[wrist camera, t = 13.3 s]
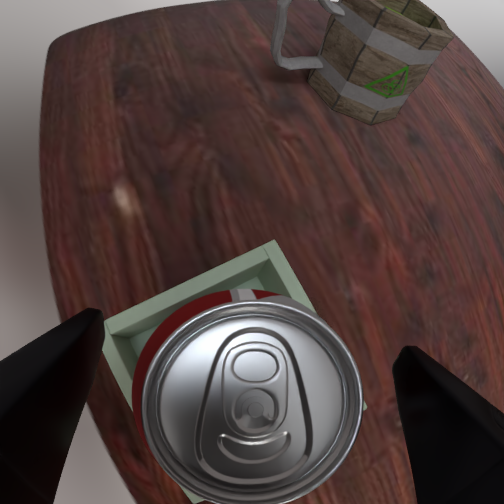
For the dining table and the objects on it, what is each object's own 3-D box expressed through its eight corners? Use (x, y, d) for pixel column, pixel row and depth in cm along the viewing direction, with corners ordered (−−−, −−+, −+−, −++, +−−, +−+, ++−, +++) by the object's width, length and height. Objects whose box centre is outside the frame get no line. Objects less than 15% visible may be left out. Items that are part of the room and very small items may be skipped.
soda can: (169, 426, 16) (124, 520, 5) (170, 318, 18) (121, 265, 7) (279, 426, 17) (375, 505, 6) (279, 322, 19) (380, 277, 8)
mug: (377, 65, 31) (418, -6, 20) (412, 131, 28) (474, 55, 17) (252, 48, 28) (272, -46, 17) (267, 117, 25) (303, -1, 14)
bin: (195, 474, 16) (193, 504, 12) (115, 332, 18) (91, 326, 14) (335, 398, 19) (368, 407, 15) (260, 262, 21) (275, 238, 17)
